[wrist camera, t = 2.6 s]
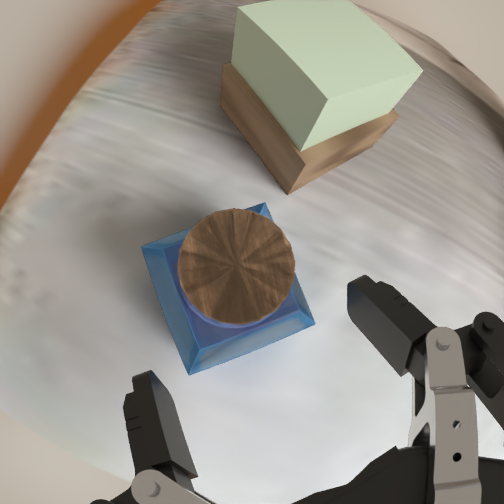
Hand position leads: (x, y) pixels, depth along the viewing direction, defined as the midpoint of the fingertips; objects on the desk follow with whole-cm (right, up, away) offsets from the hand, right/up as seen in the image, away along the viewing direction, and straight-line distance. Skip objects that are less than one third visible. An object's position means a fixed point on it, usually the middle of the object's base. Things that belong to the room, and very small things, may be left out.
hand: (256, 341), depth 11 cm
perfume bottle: (-2, 0, +9) cm, 9 cm away
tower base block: (+4, +13, +12) cm, 18 cm away
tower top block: (+4, +14, +7) cm, 17 cm away
